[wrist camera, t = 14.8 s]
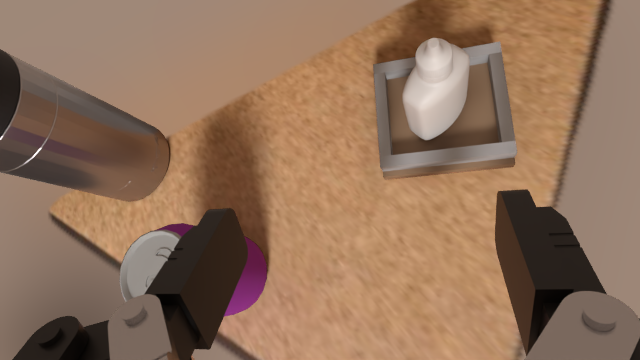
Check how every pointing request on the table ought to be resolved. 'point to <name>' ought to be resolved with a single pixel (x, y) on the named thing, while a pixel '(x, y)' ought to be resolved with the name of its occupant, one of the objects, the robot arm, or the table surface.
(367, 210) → the table surface
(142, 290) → the beverage can
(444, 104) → the eye dropper bottle
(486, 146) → the grey square tray
